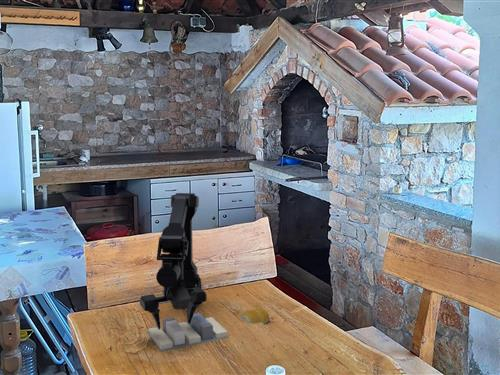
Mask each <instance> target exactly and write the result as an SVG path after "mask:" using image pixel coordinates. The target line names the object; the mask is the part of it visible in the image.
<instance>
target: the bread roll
mask: <svg viewBox="0 0 500 375" xmlns="http://www.w3.org/2000/svg"><path fill="white" fill-rule="evenodd" d="M240 318H241V319H242V321H244V322H246V323H247V324H260V323H262V324H263V325H265V324H267V323H269V321H270V315H269V313H268V311H267V310H265V309H263V308H253V309H250V310H249V309H247V310H244V311H243V312H242V313H241V314H240Z"/></svg>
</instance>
